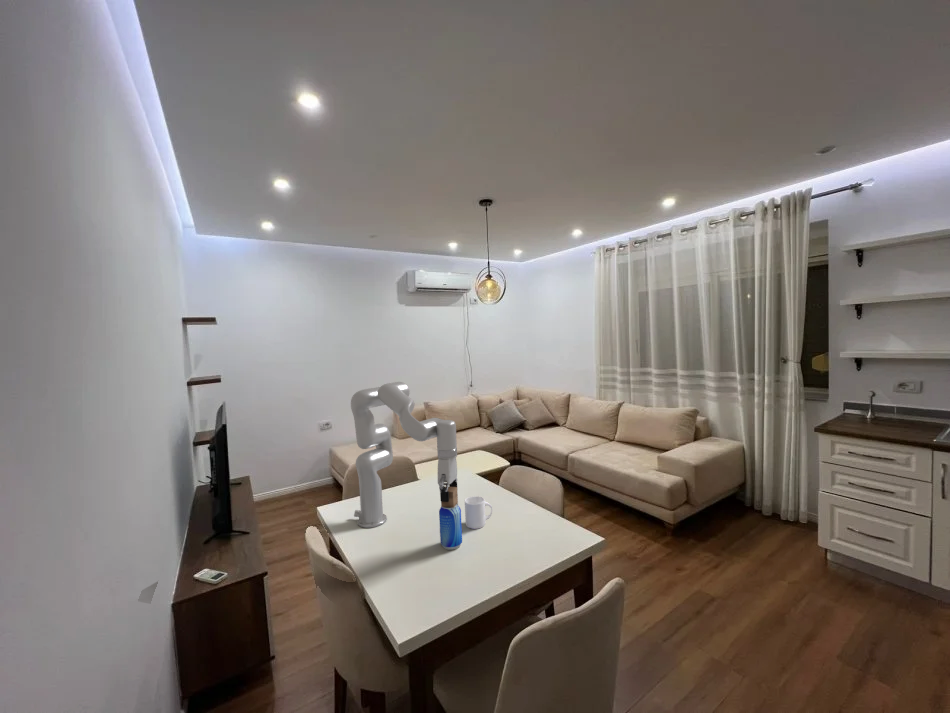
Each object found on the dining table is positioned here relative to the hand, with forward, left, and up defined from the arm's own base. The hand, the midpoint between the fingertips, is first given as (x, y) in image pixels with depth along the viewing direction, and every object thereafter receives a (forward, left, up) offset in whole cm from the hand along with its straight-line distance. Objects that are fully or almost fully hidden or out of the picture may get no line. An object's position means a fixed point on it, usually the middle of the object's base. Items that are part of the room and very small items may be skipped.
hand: (449, 496), depth 149 cm
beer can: (0, 0, -19) cm, 19 cm away
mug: (+6, +19, -19) cm, 28 cm away
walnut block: (0, 0, -3) cm, 3 cm away
